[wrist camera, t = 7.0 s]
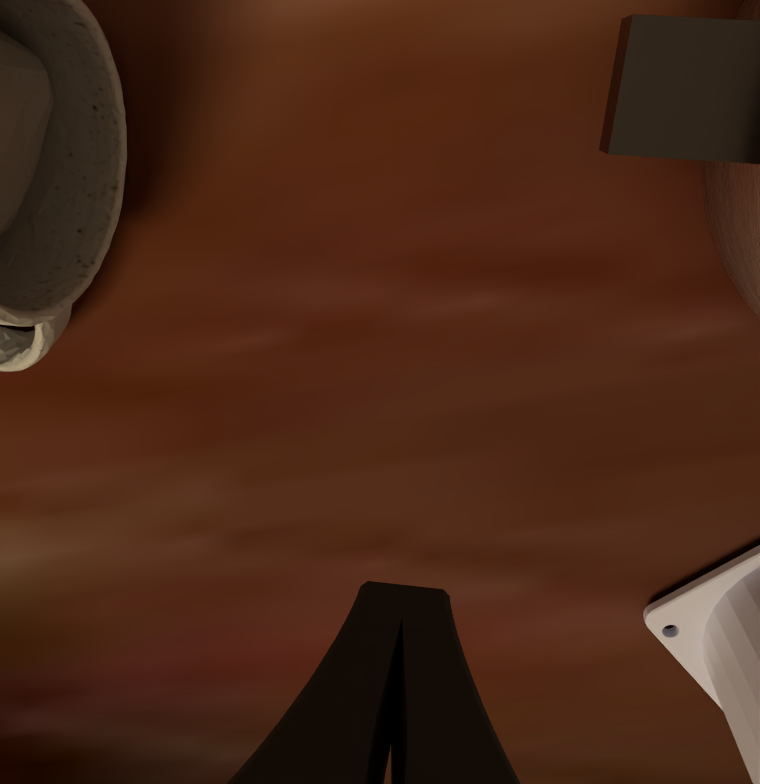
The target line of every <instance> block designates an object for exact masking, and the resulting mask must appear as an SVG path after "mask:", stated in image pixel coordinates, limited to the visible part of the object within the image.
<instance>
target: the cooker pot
mask: <svg viewBox="0 0 760 784" xmlns="http://www.w3.org/2000/svg"><path fill="white" fill-rule="evenodd" d="M599 150H601V151H603V152H605V153H607V154H614V155H629V156H644V157H659V158H673V159H688V160H702V169H701V173H702V183H703V193H704V203H705V210H706V214H707V218H708V222H709V226H710V230H711V234H712V238H713V242H714V244H715V246H716V249H717V251H718V254H719V256H720V258H721V261H722V263H723V265H724V268H725V270H726V272H727V274H728V275H729V277H730V279H731V280H732V282H733V284H734V285H735V287H736V288H737V290H738V292H739V293H740V295H741V297H742V298H743V299H744V301H745V302H746V303H747V304H748V305H749V306H750V308H751V309H752V310H753V311H754V312H755V313H756V315H757V316H758V317H759V318H760V0H744V2H743V3H742V5H741V7H740V9H739V11H738V14H737V16H736V18H735V20H733V19H714V18H695V17H675V16H656V15H636V14H633V15H630V16H628V17H625V18H623V19H622V21H621V26H620V32H619V38H618V44H617V50H616V55H615V61H614V67H613V73H612V78H611V84H610V90H609V96H608V101H607V107H606V113H605V119H604V125H603V130H602V136H601V142H600V148H599Z"/></svg>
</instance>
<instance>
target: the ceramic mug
mask: <svg viewBox="0 0 760 784" xmlns="http://www.w3.org/2000/svg"><path fill="white" fill-rule="evenodd" d="M126 163H127V126H126V120H125V107H124V102H123V93H122V87H121V82H120V77H119V74H118V71H117V69H116V66H115V63H114V60H113V57H112V54H111V51H110V47H109V44H108V42H107V40H106V37H105V35H104V33H103V31H102V29H101V27H100V25H99V23H98V22H97V20H96V18H95V17H94V15H93V14H92V12H91V11H90V10H89V8H88V7H87V6H86V5H85V4H84V2H83V1H82V0H0V325H11V326H34V325H35V331H29V332H23V331H18V330H13V329H9V328H5V327H0V371H20V370H23V369H25V368H28V367H30V366H32V365H34V364H35V363H36V362H38V361H39V360H40V359H41V358H42V357H43V356H44V355H45V354H46V353H47V352H48V351H49V349H50V348H51V346H52V345H53V344H54V343H55V342H56V340H57V339H58V338H59V337H60V335H61V334H62V332H63V331H64V329H65V328H66V326H67V324H68V322H69V319H70V315H71V308H72V304H73V303H74V302H75V301H76V300H77V299H78V298H79V297H80V296H81V295H82V293H83V292H84V291H85V290H86V289H87V288H88V286H89V285H90V284H91V282H92V280H93V278H94V276H95V274H96V273H97V272H98V270H99V269H100V267H101V264H102V262H103V259H104V257H105V255H106V253H107V251H108V250H109V247H110V244H111V240H112V237H113V234H114V232H115V229H116V226H117V223H118V220H119V215H120V211H121V207H122V200H123V193H124V185H125V172H126Z"/></svg>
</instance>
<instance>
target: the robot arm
mask: <svg viewBox="0 0 760 784" xmlns="http://www.w3.org/2000/svg"><path fill="white" fill-rule="evenodd" d="M643 617H644V620H645V623H646V625H647V627H648V628H649V629H650V630H651V631H652V633H653V634H654V635H655V636H656V637H657V638H658V639H659V640H660V641H661V642H662V644H663V645H664V646H665V647H666V648H667V649H668V650H669V651H670V652H671V654H672V655H673V656H674V657H675V658H676V659H677V660H678V661H679V662H680V663H681V665H682V666H683V667H684V668H685V669H686V670H687V671H688V672H689V673H690V675H691V676H692V677H693V678H694V679H695V680H696V681H697V682H698V683H699V684H700V686H701V687H702V688H703V689H704V690H705V691H706V692H707V693H708V694H709V696H710V697H711V698H712V699H713V700H714V701H715V702H716V703H717V704H718V705H719V707H720V708H721V709H722V710H723V711H724V714H725V716H726V719H727V721H728V723H729V726H730V728H731V731H732V733H733V736H734V738H735V740H736V743H737V745H738V748H739V750H740V753H741V755H742V758H743V760H744V762H745V765H746V767H747V770H748V772H749V775H750V777H751V780H752V782H753V784H760V545H759V546H757V547H755V548H753V549H751V550H749V551H748V552H746V553H744V554H742V555H740V556H738V557H737V558H735V559H733V560H731V561H729V562H727V563H725V564H724V565H722V566H720V567H718V568H716V569H714V570H712V571H711V572H709V573H707V574H705V575H703V576H701V577H700V578H698V579H696V580H694V581H692V582H690V583H688V584H687V585H685V586H683V587H681V588H679V589H677V590H676V591H674V592H672V593H670V594H668V595H666V596H664V597H663V598H661V599H659V600H657V601H655V602H653V603H652V604H650V605H649V606H647V607H646V608H645V610H644V612H643ZM668 625H675V626H674V627H672V628H670V629H664V627H665V626H668ZM390 746H391V784H520V782H519V780H518V778H517V776H516V774H515V772H514V770H513V768H512V766H511V764H510V762H509V760H508V758H507V756H506V754H505V752H504V750H503V748H502V746H501V744H500V742H499V739H498V737H497V735H496V733H495V731H494V729H493V727H492V724H491V722H490V720H489V718H488V715H487V713H486V711H485V708H484V706H483V704H482V701H481V698H480V696H479V693H478V691H477V688H476V686H475V683H474V681H473V678H472V676H471V673H470V670H469V668H468V665H467V662H466V659H465V656H464V653H463V650H462V647H461V644H460V640H459V637H458V634H457V630H456V627H455V623H454V619H453V614H452V609H451V604H450V596H449V595H448V594H447V593H446V592H445V591H444V589H435V588H426V587H417V586H408V585H399V584H389V583H380V582H371V581H368V582H366V583H365V584H363V585H362V586H361V587H360V589H359V592H358V595H357V598H356V600H355V602H354V604H353V606H352V609H351V611H350V613H349V615H348V617H347V619H346V621H345V622H344V624H343V626H342V628H341V630H340V631H339V633H338V635H337V637H336V639H335V640H334V642H333V644H332V645H331V647H330V648H329V650H328V652H327V653H326V655H325V656H324V658H323V660H322V661H321V663H320V664H319V666H318V668H317V669H316V671H315V672H314V674H313V675H312V677H311V678H310V680H309V681H308V683H307V684H306V686H305V687H304V688H303V690H302V691H301V692H300V694H299V695H298V697H297V698H296V699H295V701H294V702H293V704H292V705H291V706H290V708H289V709H288V710H287V712H286V713H285V715H284V716H283V717H282V719H281V720H280V721H279V723H278V724H277V725H276V726H275V728H274V729H273V730H272V731H271V733H270V734H269V735H268V737H267V738H266V739H265V740H264V741H263V743H262V744H261V745H260V746H259V748H258V749H257V750H256V751H255V752H254V753H253V755H252V756H251V757H250V758H249V759H248V760H247V762H246V763H245V764H244V765H243V766H242V767H241V769H240V770H239V771H238V772H237V773H236V774H235V775H234V776H233V777H232V779H231V780H230V781H229V782H228V783H227V784H383V783H384V778H385V773H386V768H387V762H388V757H389V752H390Z"/></svg>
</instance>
